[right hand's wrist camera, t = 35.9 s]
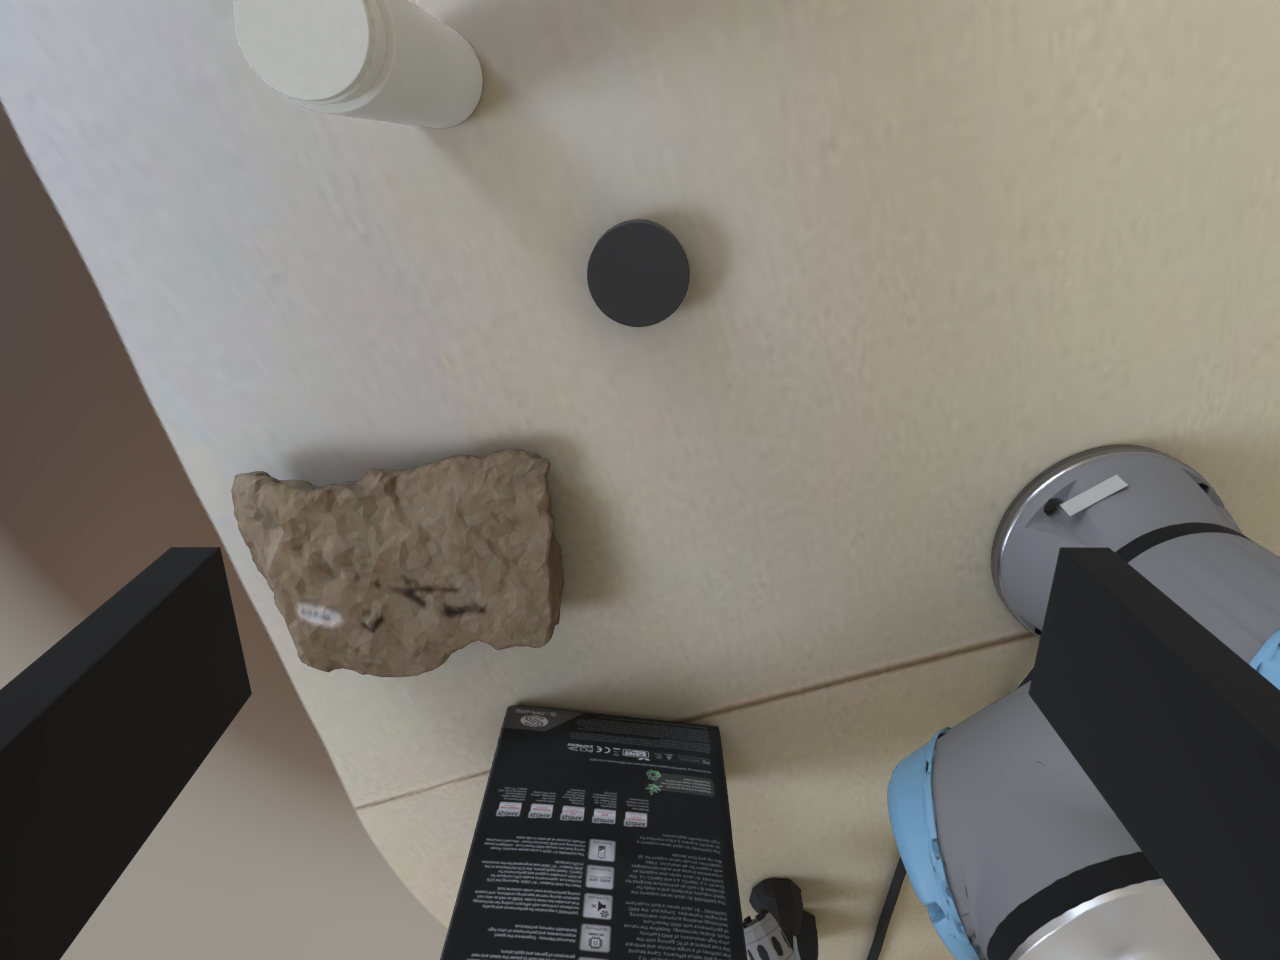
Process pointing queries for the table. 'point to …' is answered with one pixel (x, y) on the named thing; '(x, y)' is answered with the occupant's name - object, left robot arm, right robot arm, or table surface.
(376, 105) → the white bottle
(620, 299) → the lid
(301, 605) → the stone
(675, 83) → the table surface
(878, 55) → the table surface
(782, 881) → the robot
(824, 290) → the table surface
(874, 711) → the table surface
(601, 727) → the graphics card box
